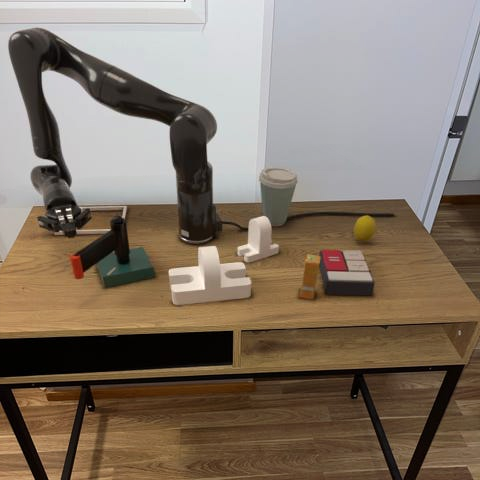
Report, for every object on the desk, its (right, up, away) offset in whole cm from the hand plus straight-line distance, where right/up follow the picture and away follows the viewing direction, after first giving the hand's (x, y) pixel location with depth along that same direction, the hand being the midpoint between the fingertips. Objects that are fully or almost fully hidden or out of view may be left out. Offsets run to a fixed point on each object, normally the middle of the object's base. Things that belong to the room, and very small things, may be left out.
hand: (70, 234), depth 113 cm
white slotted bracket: (+31, -12, +3) cm, 34 cm away
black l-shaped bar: (+7, -7, 0) cm, 10 cm away
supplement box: (+54, -14, +2) cm, 56 cm away
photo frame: (-3, +8, +27) cm, 29 cm away
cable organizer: (+43, -2, +16) cm, 46 cm away
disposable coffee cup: (+49, +9, +30) cm, 58 cm away
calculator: (+64, -9, +8) cm, 65 cm away
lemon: (+72, +2, +22) cm, 75 cm away
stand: (+11, -8, +8) cm, 15 cm away
